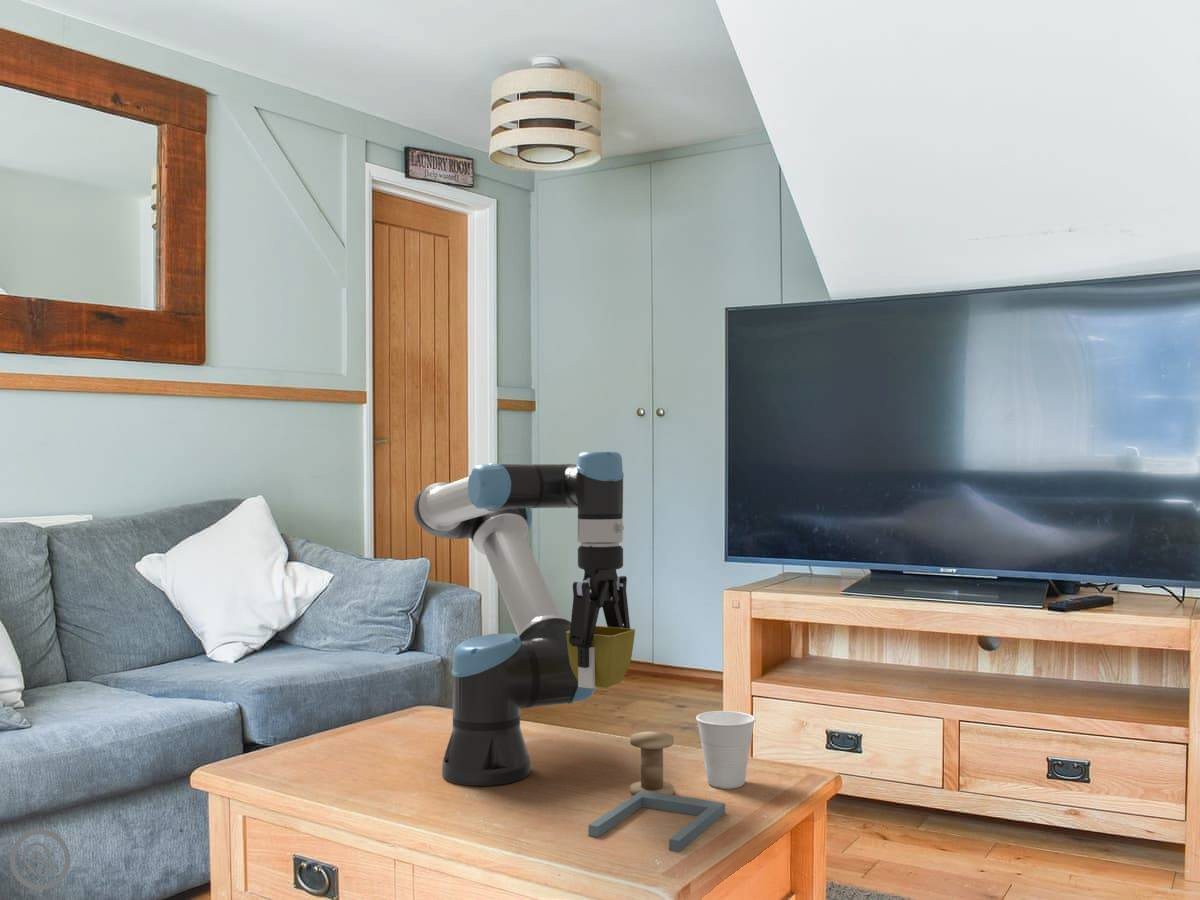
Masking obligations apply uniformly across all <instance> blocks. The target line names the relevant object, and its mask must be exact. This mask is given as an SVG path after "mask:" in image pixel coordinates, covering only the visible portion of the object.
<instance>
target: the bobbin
mask: <svg viewBox="0 0 1200 900" xmlns="http://www.w3.org/2000/svg"><path fill="white" fill-rule="evenodd" d="M629 737H630V738H629V740H630V741H629V743H630V745H631V746H633V747H635V748H639V749H640V781H635V782H633V783H631V785H629V786H630V795H631V797H632V796H634V795H635V794H637V793H638V792H640V791H641V790H643V791H649V792H656V793H662V794H669V795H674V793H675V791H674V789H675V787H674V785H673V783H670V782H667V781H664V749H666V748H670V747H672V746H673V745H674V735H672V734H670V733H667V732H661V731H641V732H636V733H633V734H631V735H630V736H629Z"/></svg>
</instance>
